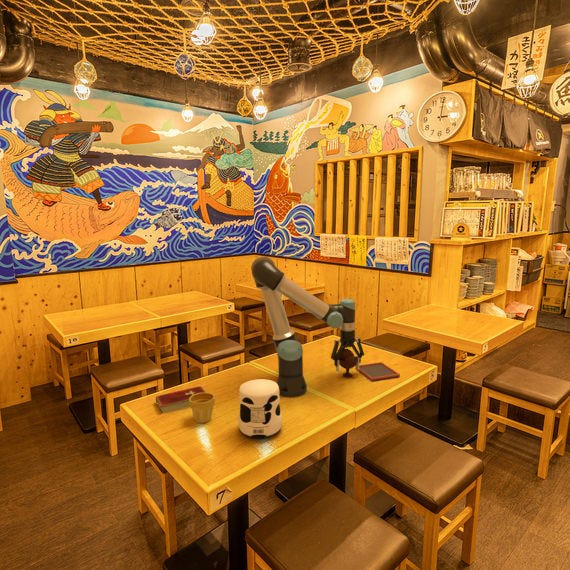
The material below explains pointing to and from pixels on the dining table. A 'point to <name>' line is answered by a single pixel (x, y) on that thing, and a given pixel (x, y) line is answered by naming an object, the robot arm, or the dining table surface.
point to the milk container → (259, 408)
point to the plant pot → (202, 406)
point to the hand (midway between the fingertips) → (347, 370)
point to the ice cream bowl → (347, 362)
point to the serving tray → (377, 371)
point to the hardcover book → (177, 399)
